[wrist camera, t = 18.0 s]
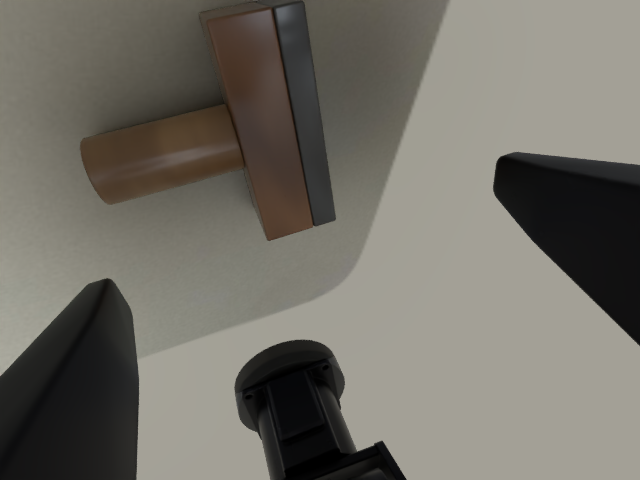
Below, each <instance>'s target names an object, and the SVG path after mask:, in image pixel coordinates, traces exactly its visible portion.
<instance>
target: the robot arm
mask: <svg viewBox="0 0 640 480" xmlns="http://www.w3.org/2000/svg"><path fill="white" fill-rule="evenodd" d="M493 191H494V194H495V196H496V198H497V199H498V200H499V201H500V203H501V204H502V205H503V206H504V207H505V209H506V210H507V211H508V212H509V213H510V215H511V216H512V217H513V218H514V219H515V221H516V222H517V223H518V224H519V225H520V227H521V228H522V229H523V230H524V231H525V233H526V234H527V235H528V236H529V237H530V238H531V240H532V241H533V242H534V243H535V244H536V245H537V246H538V247H539V248H540V249H541V250H542V251H543V252H544V253H545V254H546V255H547V256H548V257H549V258H551V260H552V261H553V262H554V263H556V264H557V265H558V266H559V267H560V268H561V269H562V270H563V271H564V272H565V273H566V274H567V275H568V276H569V277H570V278H571V279H572V280H573V281H574V282H575V283H576V284H577V285H578V286H579V287H580V288H581V289H582V290H583V291H584V292H585V293H586V294H587V295H588V296H589V297H590V298H591V299H593V301H594V302H595V303H597V305H599V306H600V307H601V308H602V309H603V310H604V311H605V312H606V313H607V314H608V315H609V316H610V317H611V318H612V319H613V320H614V321H615V322H616V323H617V324H618V325H619V326H620V327H621V328H622V329H623V330H624V331H625V332H626V333H627V334H628V335H629V336H630V337H631V338H632V339H633V340H634V341H635V342H636V343H637V344H638V345H639V346H640V165H635V164H625V163H616V162H606V161H596V160H587V159H578V158H568V157H559V156H549V155H540V154H530V153H521V152H514V153H510V154H507V155H504V156H501V157H500V158H499V159H498V161H497V163H496V170H495V177H494V185H493ZM241 397H242V401H243V403H244V405H245V407H246V409H247V411H248V413H249V415H250V417H251V420H252V422H253V424H254V426H255V428H256V430H257V432H258V434H259V436H260V438H261V440H262V443H263V448H264V452H265V457H266V461H267V466H268V470H269V475H270V480H406V478H405V476H404V475H403V473H402V472H401V470H400V468H399V467H398V465H397V463H396V462H395V460H394V459H393V457H392V456H391V454H390V452H389V451H388V449H387V447H386V446H385V444H384V442H383V441H380V442H377V443H375V444H374V446H371V447H368V448H366V449H363V450H360V451H358V452H357V450H356V447H355V445H354V443H353V440H352V438H351V436H350V433H349V430H348V428H347V426H346V423H345V421H344V418H343V416H342V413H341V411H340V410H341V406H340V401H339V396H338V392H337V387H336V382H335V377H334V373H333V368H332V364H331V362H330V360H329V359H327V358H324V359H321V360H318V361H316V362H313V363H310V364H308V365H305V366H302V367H300V368H297V369H295V370H292V371H289V372H287V373H284V374H281V375H279V376H276V377H273V378H271V379H268V380H266V381H263V382H260V383H258V384H255V385H252V386H250V387H247V388H245V389H243V390H242V392H241ZM138 405H139V375H138V364H137V354H136V345H135V335H134V325H133V316H132V312H131V309H130V307H129V305H128V303H127V302H126V300H125V299H124V297H123V295H122V294H121V292H120V291H119V289H118V287H117V286H116V284H115V283H114V282H113V281H112V280H111V279H109V278H106V279H102V280H99V281H96V282H93V283H90V284H88V285H87V286H86V287H85V288H84V289H83V290H82V291H81V292H80V293H79V294H78V295H77V296H76V297H75V298H74V299H73V300H72V301H71V302H70V303H69V305H68V306H67V307H66V308H65V309H64V310H63V311H62V312H61V313H60V314H59V315H58V316H57V317H56V318H55V319H54V320H53V321H52V322H51V324H50V325H49V326H48V327H47V328H46V329H45V330H44V331H43V332H42V333H41V334H40V335H39V336H38V337H37V338H36V339H35V340H34V341H33V343H32V344H31V345H30V346H29V347H28V348H27V349H26V350H25V351H24V352H23V353H22V354H21V355H20V356H19V357H18V358H17V359H16V361H15V362H14V363H13V364H12V365H11V366H10V367H9V368H8V369H7V370H6V371H5V372H4V373H3V374H2V375H1V376H0V480H136V472H137V440H138Z"/></svg>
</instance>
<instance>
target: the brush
mask: <svg viewBox="0 0 640 480" xmlns="http://www.w3.org/2000/svg"><path fill="white" fill-rule="evenodd" d="M199 18H200V21H201V25H202V28H203V31H204V35H205V38H206V42H207V45H208V49H209V52H210V56H211V59H212V63H213V66H214V70H215V73H216V77H217V80H218V84H219V87H220V90H221V94H222V97H223V101H224V104H222V105H218V106H214V107H210V108H206V109H201V110H197V111H193V112H189V113H185V114H181V115H177V116H173V117H169V118H165V119H161V120H156V121H152V122H148V123H144V124H140V125H136V126H132V127H128V128H124V129H120V130H115V131H111V132H107V133H103V134H99V135H95V136H91V137H87V138H83V139H82V140H81V142H80V151H81V157H82V161H83V164H84V167H85V170H86V173H87V175H88V177H89V179H90V182H91V184H92V185H93V187H94V189H95V191H96V192H97V194H98V195H99V196H100V198H101V199H102V200H103V201H104V202H105V203H107V204H109V205H113V204H116V203H120V202H124V201H127V200H131V199H135V198H138V197H142V196H145V195H149V194H153V193H156V192H160V191H164V190H167V189H171V188H174V187H178V186H182V185H185V184H189V183H193V182H196V181H200V180H203V179H207V178H211V177H214V176H218V175H222V174H225V173H229V172H232V171H236V170H240V169H243V170H244V174H245V177H246V181H247V184H248V188H249V191H250V195H251V198H252V201H253V205H254V208H255V211H256V213H257V216H258V218H259V221H260V223H261V226H262V228H263V231H264V233H265V236H266V238H267V240H268V241H271V240H274V239H277V238H280V237H283V236H287V235H290V234H293V233H296V232H299V231H303V230H306V229H309V228H312V227H313V225H314V226H319V225H322V224H325V223H328V222H331V221H335V220H336V216H335V209H334V202H333V195H332V188H331V181H330V175H329V168H328V161H327V154H326V147H325V141H324V134H323V127H322V120H321V113H320V106H319V100H318V93H317V86H316V79H315V72H314V65H313V59H312V52H311V45H310V38H309V31H308V24H307V18H306V11H305V4H304V1H303V0H259V1H256V2H255V3H254V2H249V3H244V4H239V5H235V6H230V7H225V8H220V9H215V10H210V11H205V12H201V13H199Z"/></svg>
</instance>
